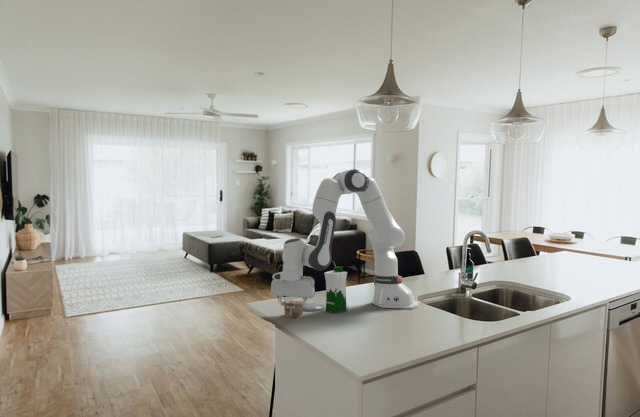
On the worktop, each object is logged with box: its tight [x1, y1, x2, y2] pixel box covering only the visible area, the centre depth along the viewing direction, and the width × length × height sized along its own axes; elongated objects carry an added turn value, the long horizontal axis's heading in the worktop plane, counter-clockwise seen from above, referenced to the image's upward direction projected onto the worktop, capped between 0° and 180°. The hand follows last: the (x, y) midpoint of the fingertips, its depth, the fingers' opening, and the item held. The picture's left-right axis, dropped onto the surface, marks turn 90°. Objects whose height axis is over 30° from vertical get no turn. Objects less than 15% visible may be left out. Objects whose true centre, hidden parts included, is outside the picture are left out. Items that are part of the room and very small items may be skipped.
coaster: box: [303, 302, 326, 312], centre depth 199 cm, size 13×13×1 cm
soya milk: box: [323, 265, 348, 314], centre depth 193 cm, size 9×9×20 cm
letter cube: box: [284, 300, 304, 319], centre depth 186 cm, size 6×6×6 cm
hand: (292, 306), depth 186 cm, fingers open, 8 cm apart
